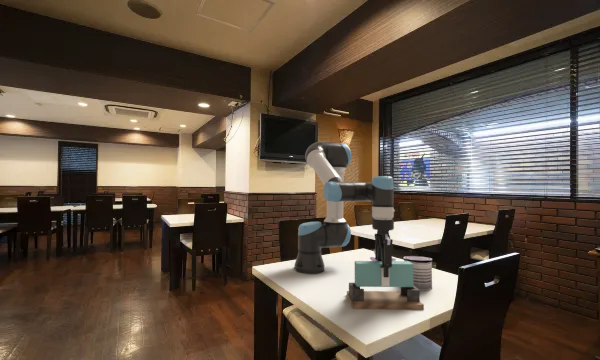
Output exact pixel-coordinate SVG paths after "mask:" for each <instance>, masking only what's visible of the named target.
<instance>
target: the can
mask: <svg viewBox="0 0 600 360" xmlns="http://www.w3.org/2000/svg"><path fill="white" fill-rule="evenodd" d="M403 261H409V262H411V263H412V264H413V285H414V286H415V287H416V288H418V289H419V290H420V291H430V290H432V289H433V263H432V261H433V258H431V257H426V256H418V255H417V256H416V255H410V256H409V255H407V256H405V255H404V256H403Z"/></svg>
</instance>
